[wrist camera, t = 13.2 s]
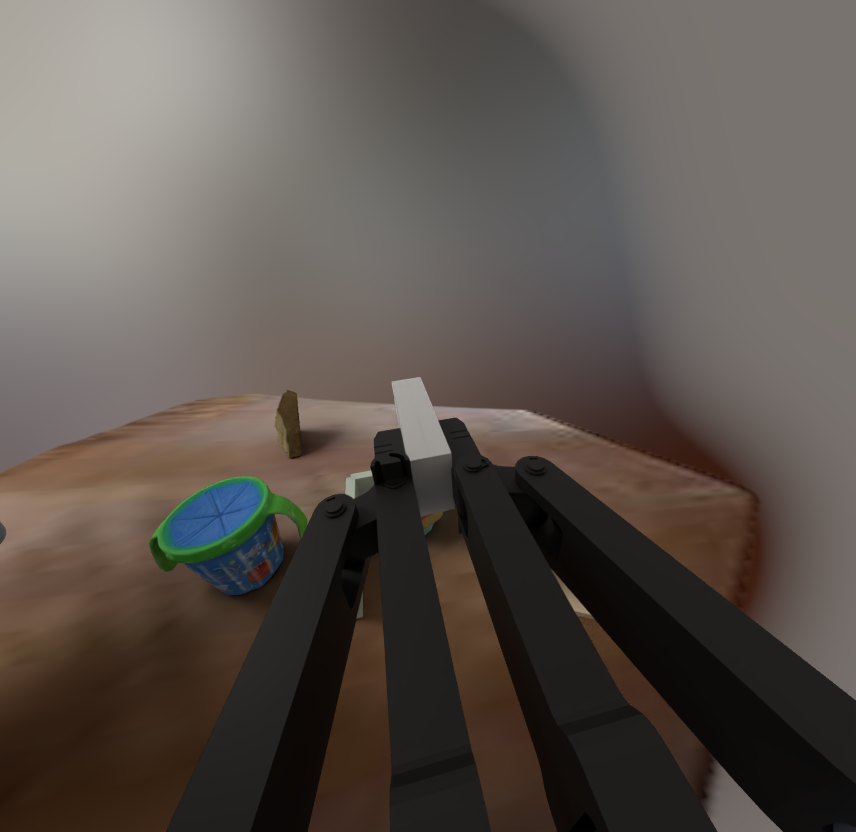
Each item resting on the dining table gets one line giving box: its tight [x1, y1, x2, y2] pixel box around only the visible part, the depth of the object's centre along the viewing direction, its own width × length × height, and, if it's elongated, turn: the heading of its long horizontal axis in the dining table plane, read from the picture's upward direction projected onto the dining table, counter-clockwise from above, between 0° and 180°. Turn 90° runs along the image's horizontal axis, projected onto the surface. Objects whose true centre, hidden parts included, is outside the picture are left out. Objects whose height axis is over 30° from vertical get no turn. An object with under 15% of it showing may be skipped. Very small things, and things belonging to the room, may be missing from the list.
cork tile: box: [551, 569, 595, 620], centre depth 33 cm, size 5×5×1 cm
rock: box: [275, 390, 302, 458], centre depth 59 cm, size 11×9×10 cm
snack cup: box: [150, 476, 307, 596], centre depth 36 cm, size 16×10×10 cm
